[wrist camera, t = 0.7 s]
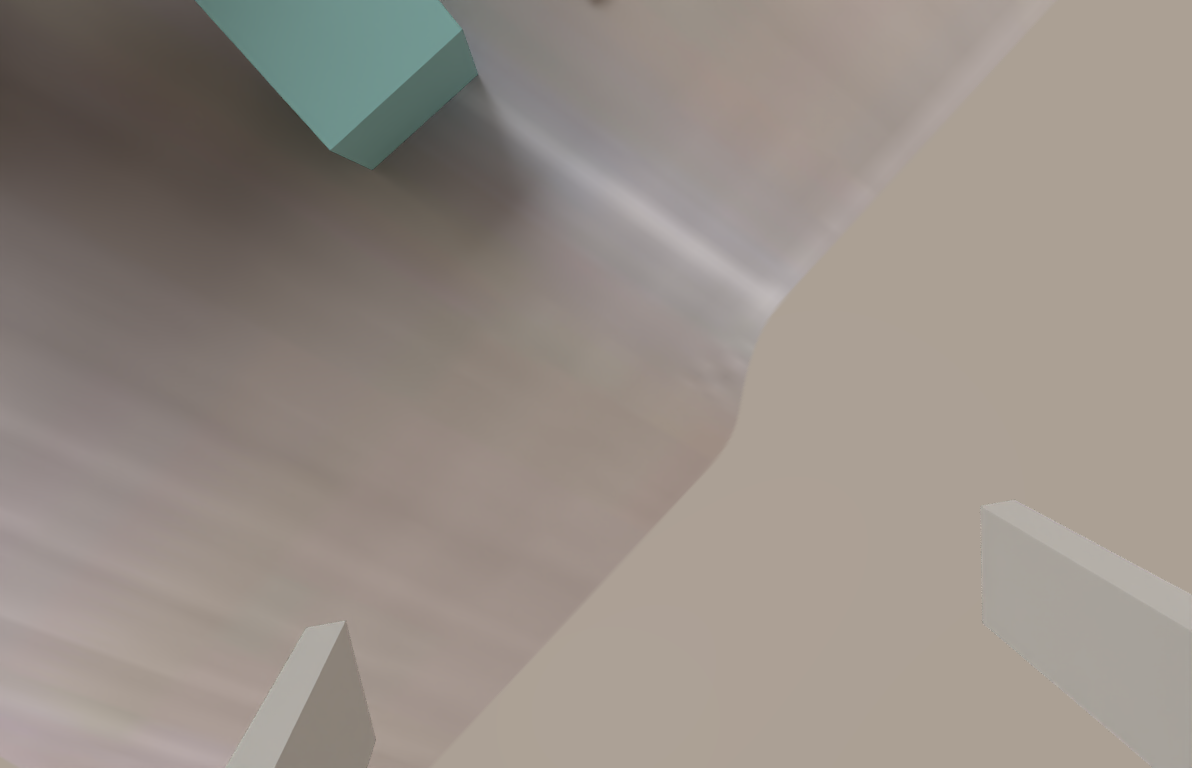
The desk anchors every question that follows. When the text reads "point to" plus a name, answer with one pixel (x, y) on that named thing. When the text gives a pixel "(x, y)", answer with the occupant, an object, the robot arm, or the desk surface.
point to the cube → (353, 64)
